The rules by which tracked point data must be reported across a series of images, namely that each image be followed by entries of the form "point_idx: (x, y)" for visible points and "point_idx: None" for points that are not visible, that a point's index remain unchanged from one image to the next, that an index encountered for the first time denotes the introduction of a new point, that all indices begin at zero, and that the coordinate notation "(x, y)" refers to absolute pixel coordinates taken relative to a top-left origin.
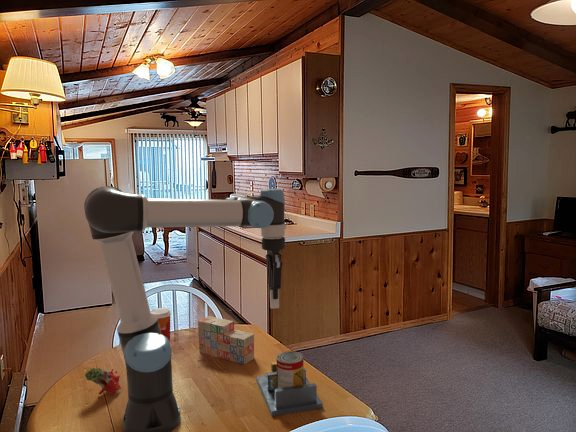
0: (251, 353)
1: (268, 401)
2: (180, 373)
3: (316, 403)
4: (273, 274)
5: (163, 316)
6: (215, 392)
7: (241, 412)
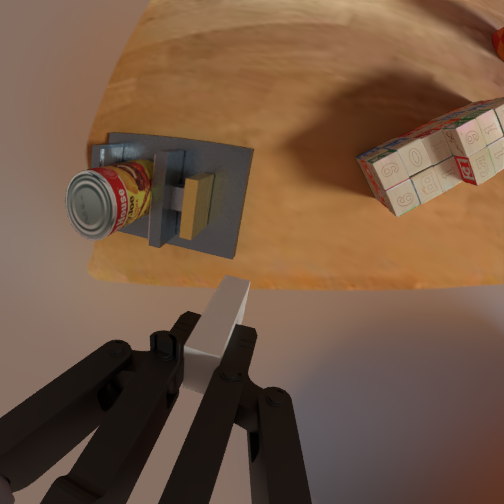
0: (375, 191)
1: (138, 136)
2: (378, 15)
3: None
4: (26, 413)
5: None
6: (246, 48)
7: (147, 83)
